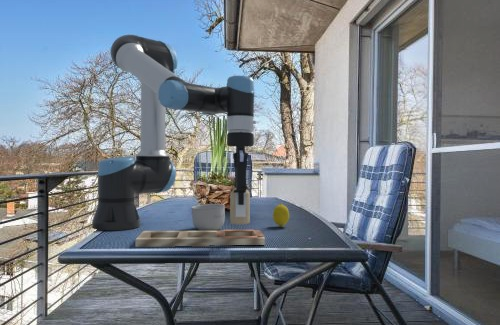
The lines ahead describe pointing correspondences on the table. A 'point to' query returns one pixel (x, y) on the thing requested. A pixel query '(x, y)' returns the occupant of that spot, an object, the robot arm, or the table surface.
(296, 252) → the table surface
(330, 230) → the table surface
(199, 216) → the teacup
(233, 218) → the candle
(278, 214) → the lemon
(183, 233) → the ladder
